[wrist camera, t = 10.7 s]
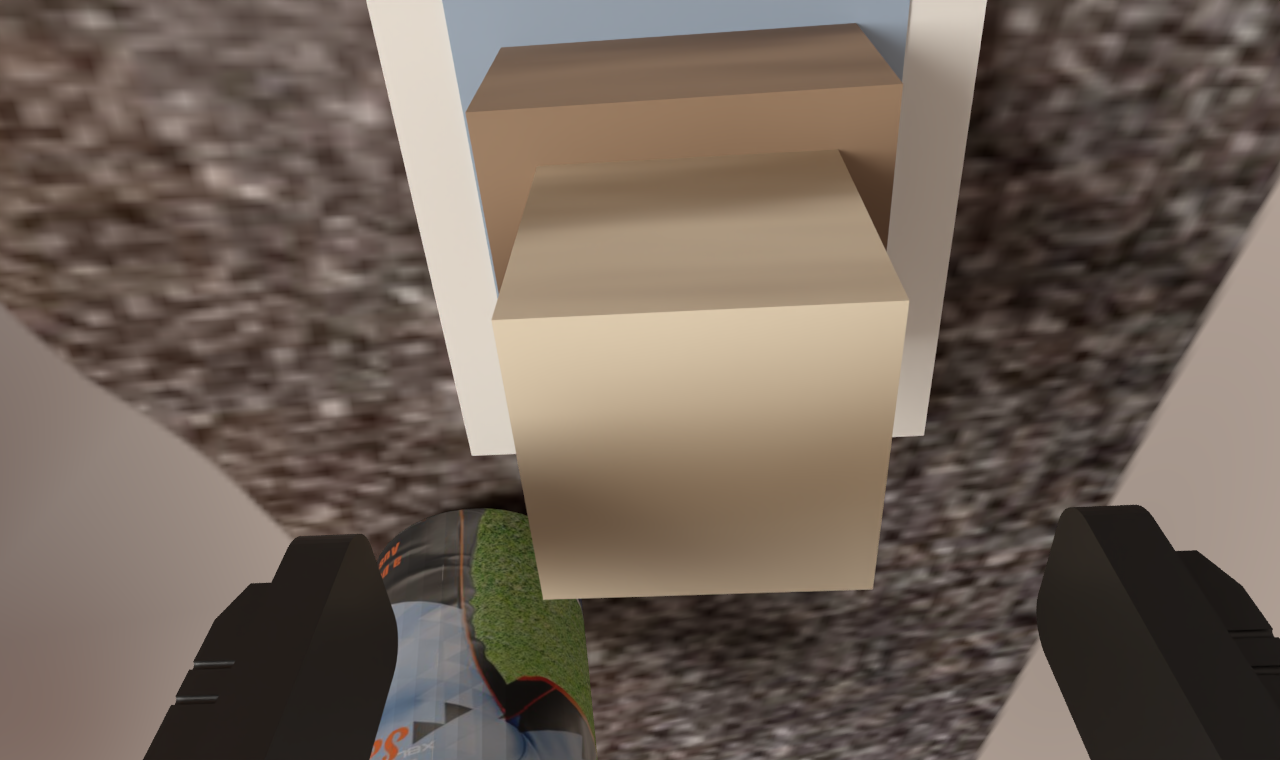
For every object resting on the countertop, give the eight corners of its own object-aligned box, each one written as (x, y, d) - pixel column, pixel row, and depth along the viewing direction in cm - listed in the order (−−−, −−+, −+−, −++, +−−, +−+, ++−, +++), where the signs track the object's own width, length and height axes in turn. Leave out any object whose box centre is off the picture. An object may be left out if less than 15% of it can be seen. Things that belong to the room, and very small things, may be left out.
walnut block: (500, 47, 18) (465, 112, 14) (855, 22, 17) (903, 84, 14) (546, 343, 22) (527, 447, 18) (835, 329, 21) (868, 432, 18)
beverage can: (388, 465, 25) (219, 910, 16) (640, 501, 26) (631, 951, 16) (385, 609, 29) (245, 1046, 19) (607, 637, 30) (583, 1074, 20)
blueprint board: (318, -284, 15) (297, -287, 15) (1017, -347, 15) (1040, -354, 14) (478, 432, 25) (471, 458, 24) (914, 412, 24) (924, 437, 23)
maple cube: (537, 166, 15) (491, 319, 11) (837, 149, 15) (909, 300, 10) (569, 405, 18) (543, 599, 14) (822, 394, 17) (872, 589, 13)
